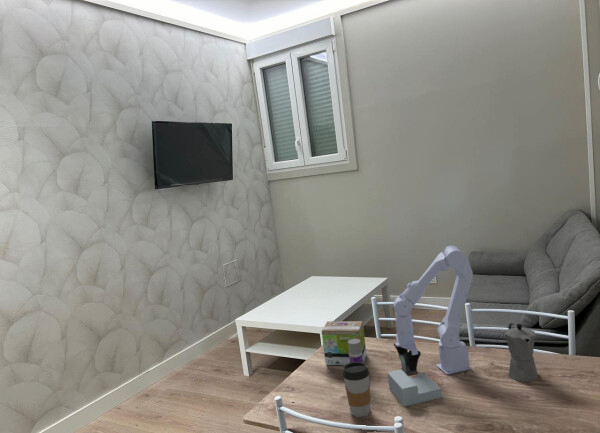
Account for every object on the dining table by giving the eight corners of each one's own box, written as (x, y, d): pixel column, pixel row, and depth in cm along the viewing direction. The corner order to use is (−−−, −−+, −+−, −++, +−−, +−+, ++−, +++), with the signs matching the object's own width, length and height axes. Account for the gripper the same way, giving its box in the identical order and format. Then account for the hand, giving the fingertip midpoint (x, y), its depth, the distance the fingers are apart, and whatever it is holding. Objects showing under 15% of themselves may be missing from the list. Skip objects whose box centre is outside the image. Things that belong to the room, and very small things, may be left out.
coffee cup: (345, 407, 149) (339, 363, 147) (370, 402, 150) (365, 359, 148) (350, 421, 141) (344, 375, 139) (376, 416, 141) (371, 370, 139)
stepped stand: (424, 380, 159) (422, 364, 158) (442, 397, 147) (440, 379, 146) (389, 389, 156) (387, 372, 156) (404, 406, 145) (402, 388, 144)
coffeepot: (547, 383, 147) (543, 330, 144) (516, 386, 147) (512, 333, 145) (526, 362, 162) (522, 313, 160) (499, 365, 163) (494, 316, 160)
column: (412, 367, 170) (410, 351, 169) (417, 372, 166) (415, 356, 165) (401, 369, 169) (400, 354, 168) (406, 374, 165) (404, 358, 164)
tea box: (325, 366, 180) (320, 330, 178) (331, 354, 189) (326, 320, 188) (363, 366, 175) (358, 329, 174) (367, 354, 185) (362, 319, 183)
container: (365, 384, 162) (360, 343, 160) (351, 384, 163) (346, 344, 161) (365, 377, 166) (361, 338, 165) (353, 378, 167) (348, 338, 166)
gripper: (386, 325, 172) (390, 360, 173) (402, 339, 158) (406, 377, 159) (404, 322, 173) (407, 356, 175) (421, 335, 159) (425, 372, 161)
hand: (408, 366), depth 167 cm, fingers open, 7 cm apart
